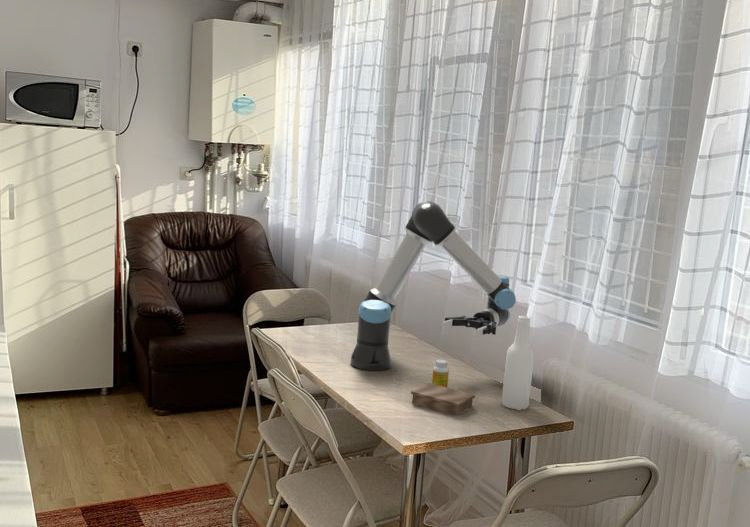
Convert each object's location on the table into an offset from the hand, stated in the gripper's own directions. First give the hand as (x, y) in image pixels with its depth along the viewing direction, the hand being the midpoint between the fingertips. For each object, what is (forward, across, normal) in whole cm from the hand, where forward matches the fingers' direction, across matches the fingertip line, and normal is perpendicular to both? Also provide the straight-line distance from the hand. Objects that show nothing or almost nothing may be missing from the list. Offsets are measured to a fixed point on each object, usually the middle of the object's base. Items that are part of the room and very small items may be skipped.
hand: (460, 329), depth 277 cm
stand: (+27, -9, -19) cm, 34 cm away
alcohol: (+10, -27, -19) cm, 34 cm away
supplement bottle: (+12, 0, -19) cm, 22 cm away
